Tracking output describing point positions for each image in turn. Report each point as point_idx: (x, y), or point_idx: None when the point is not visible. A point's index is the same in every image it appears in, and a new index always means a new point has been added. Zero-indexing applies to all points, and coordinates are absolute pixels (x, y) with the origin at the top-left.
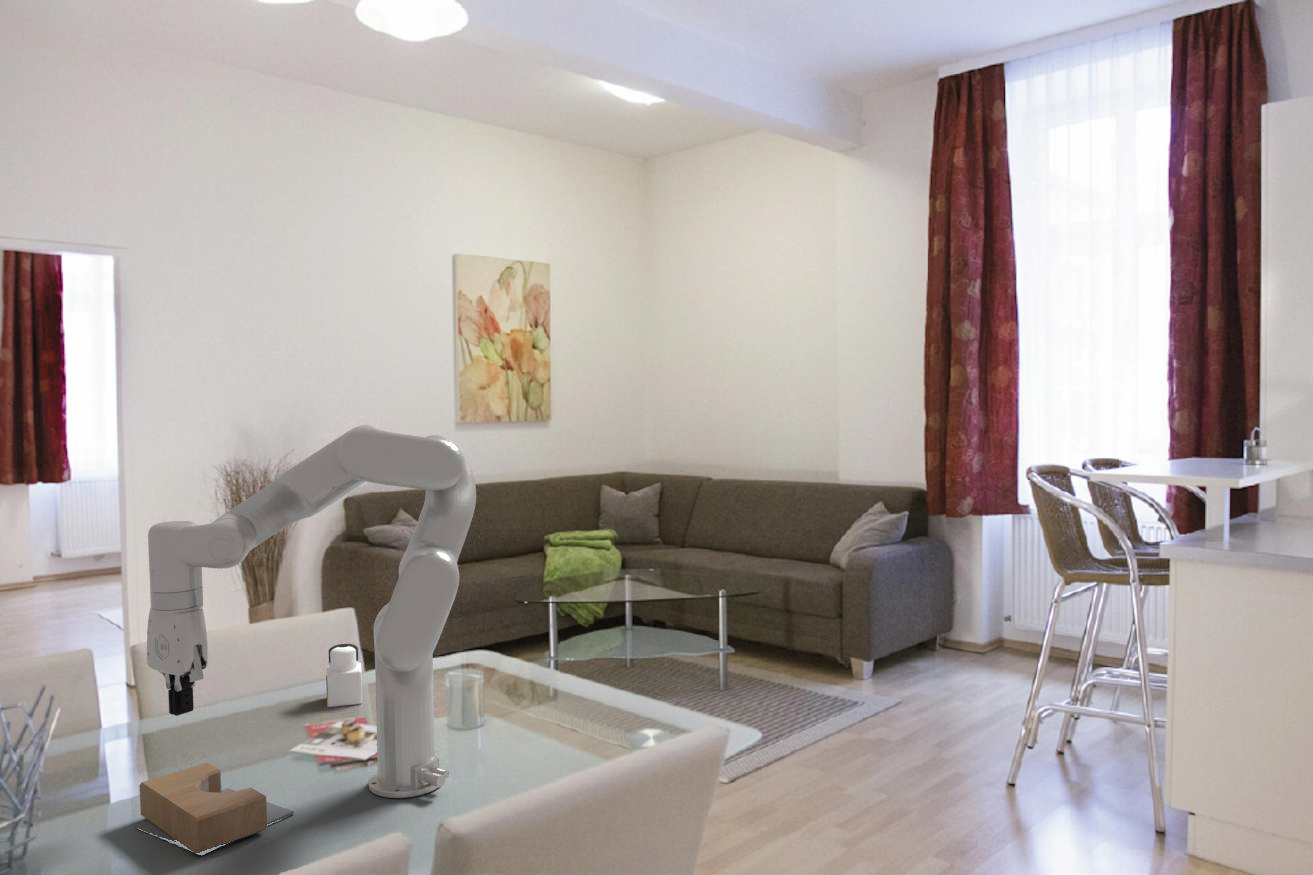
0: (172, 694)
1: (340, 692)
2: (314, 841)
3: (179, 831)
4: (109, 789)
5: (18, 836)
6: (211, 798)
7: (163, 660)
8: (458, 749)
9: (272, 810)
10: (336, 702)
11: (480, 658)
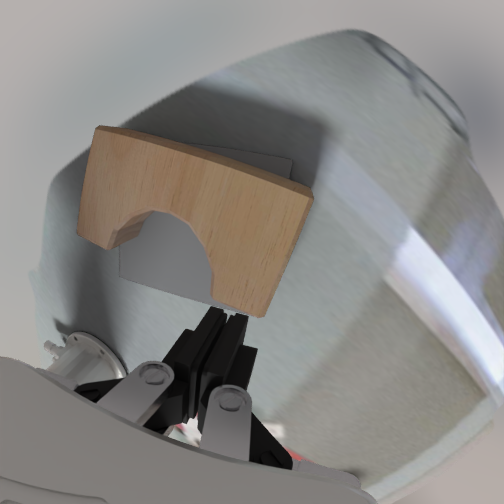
0: (193, 354)
1: None
2: (65, 226)
3: (158, 137)
4: (446, 266)
5: (438, 93)
6: (123, 190)
7: (84, 490)
8: None
9: (141, 271)
10: None
11: None
